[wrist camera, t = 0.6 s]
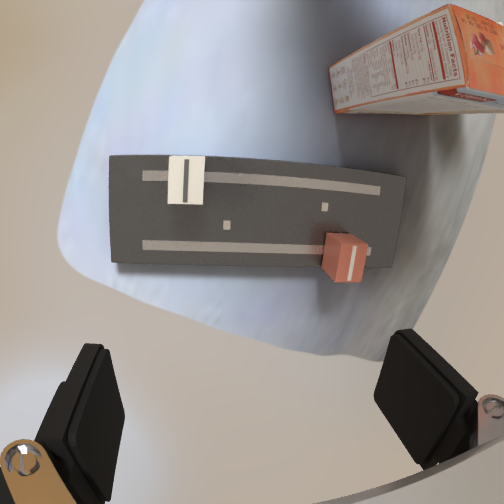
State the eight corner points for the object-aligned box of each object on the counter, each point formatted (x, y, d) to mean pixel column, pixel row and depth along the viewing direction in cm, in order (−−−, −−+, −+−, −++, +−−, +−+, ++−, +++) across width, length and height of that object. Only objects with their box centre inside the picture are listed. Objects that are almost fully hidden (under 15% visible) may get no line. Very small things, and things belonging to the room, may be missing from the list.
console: (114, 155, 30) (108, 155, 28) (397, 175, 35) (407, 177, 33) (116, 256, 34) (111, 263, 32) (383, 262, 39) (392, 268, 37)
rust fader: (326, 232, 34) (341, 243, 30) (351, 233, 34) (368, 244, 31) (321, 267, 35) (335, 282, 31) (345, 268, 36) (361, 282, 32)
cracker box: (424, 71, 32) (558, 51, 12) (430, 116, 34) (568, 121, 14) (325, 63, 30) (451, -3, 11) (331, 114, 32) (471, 95, 13)
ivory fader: (173, 155, 29) (169, 156, 25) (204, 156, 30) (205, 157, 26) (171, 196, 30) (167, 203, 27) (202, 197, 31) (202, 204, 27)
